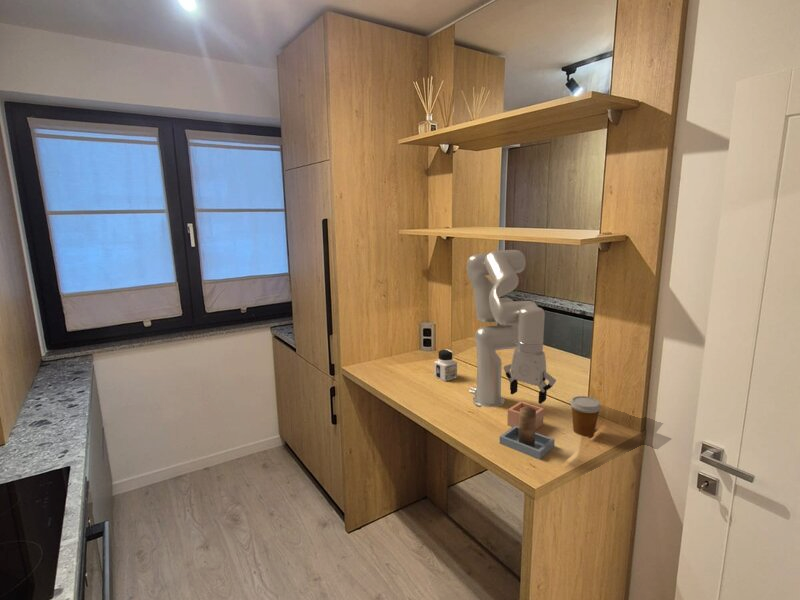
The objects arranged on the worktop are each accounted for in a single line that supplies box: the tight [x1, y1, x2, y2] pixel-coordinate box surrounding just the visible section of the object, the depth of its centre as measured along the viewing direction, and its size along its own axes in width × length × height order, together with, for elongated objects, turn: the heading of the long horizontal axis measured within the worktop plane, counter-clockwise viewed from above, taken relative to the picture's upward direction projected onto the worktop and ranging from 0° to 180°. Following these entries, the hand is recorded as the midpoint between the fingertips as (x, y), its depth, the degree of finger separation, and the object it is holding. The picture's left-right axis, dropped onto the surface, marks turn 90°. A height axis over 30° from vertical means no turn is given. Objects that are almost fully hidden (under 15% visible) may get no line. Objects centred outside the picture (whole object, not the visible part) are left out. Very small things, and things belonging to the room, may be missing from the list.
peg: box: [519, 407, 536, 448], centre depth 138 cm, size 5×5×12 cm
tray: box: [499, 425, 556, 460], centre depth 139 cm, size 14×10×4 cm
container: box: [433, 348, 458, 382], centre depth 200 cm, size 8×8×13 cm
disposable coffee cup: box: [570, 395, 602, 439], centre depth 146 cm, size 10×10×12 cm
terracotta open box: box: [507, 401, 545, 431], centre depth 152 cm, size 9×9×7 cm
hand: (527, 397), depth 137 cm, fingers open, 9 cm apart
